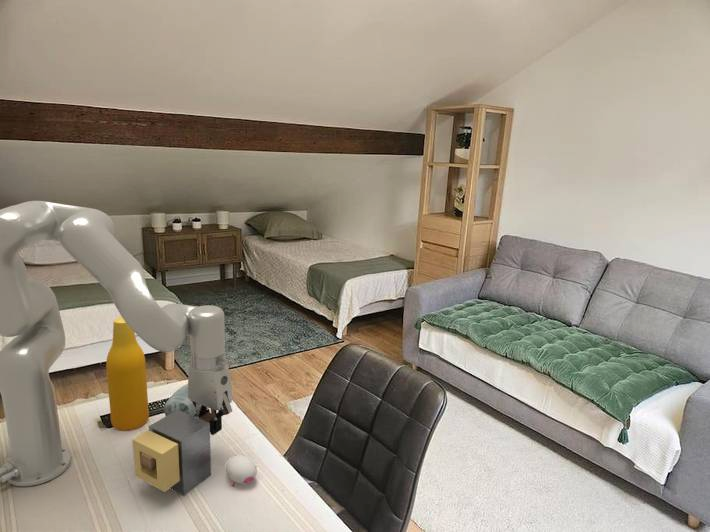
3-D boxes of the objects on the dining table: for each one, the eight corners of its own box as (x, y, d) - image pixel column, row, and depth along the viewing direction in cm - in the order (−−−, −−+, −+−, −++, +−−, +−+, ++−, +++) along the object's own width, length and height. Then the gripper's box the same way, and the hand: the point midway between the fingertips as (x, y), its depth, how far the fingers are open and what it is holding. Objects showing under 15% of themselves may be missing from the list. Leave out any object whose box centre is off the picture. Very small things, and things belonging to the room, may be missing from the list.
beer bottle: (154, 412, 135) (148, 313, 127) (142, 431, 126) (134, 327, 119) (119, 411, 134) (111, 313, 127) (105, 431, 125) (95, 326, 118)
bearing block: (184, 496, 105) (181, 441, 102) (152, 478, 110) (148, 426, 106) (211, 474, 112) (209, 423, 108) (180, 459, 116) (177, 409, 113)
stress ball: (258, 493, 112) (270, 464, 113) (239, 494, 105) (251, 463, 106) (234, 479, 115) (245, 451, 117) (213, 479, 108) (226, 449, 110)
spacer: (164, 491, 100) (162, 454, 98) (135, 476, 104) (132, 439, 102) (179, 480, 104) (178, 444, 101) (150, 465, 108) (148, 430, 106)
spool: (190, 424, 125) (178, 386, 126) (160, 433, 127) (150, 396, 129) (220, 409, 138) (209, 375, 139) (193, 418, 140) (183, 385, 142)
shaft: (151, 471, 100) (150, 458, 99) (141, 466, 102) (140, 453, 101) (217, 426, 116) (217, 415, 116) (208, 422, 118) (208, 411, 117)
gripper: (246, 362, 111) (247, 432, 116) (194, 345, 119) (197, 411, 123) (223, 375, 105) (224, 449, 110) (169, 356, 112) (173, 426, 117)
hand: (210, 428), depth 116 cm, fingers closed on shaft, 3 cm apart
